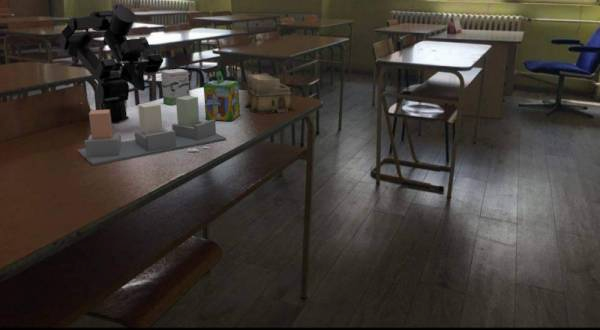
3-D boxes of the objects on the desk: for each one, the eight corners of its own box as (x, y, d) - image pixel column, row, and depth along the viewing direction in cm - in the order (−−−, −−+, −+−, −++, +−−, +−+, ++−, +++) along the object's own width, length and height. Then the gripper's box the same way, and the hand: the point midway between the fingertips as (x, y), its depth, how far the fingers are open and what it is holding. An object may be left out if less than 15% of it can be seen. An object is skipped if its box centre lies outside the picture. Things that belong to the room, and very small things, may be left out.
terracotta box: (95, 148, 129) (90, 110, 125) (114, 147, 130) (109, 109, 126) (94, 153, 125) (88, 114, 122) (113, 151, 126) (108, 113, 123)
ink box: (170, 105, 178) (167, 72, 174) (163, 103, 182) (160, 70, 178) (191, 102, 184) (188, 69, 180) (183, 100, 187) (181, 68, 183)
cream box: (141, 140, 135) (138, 104, 132) (157, 137, 138) (154, 102, 134) (147, 144, 132) (143, 107, 129) (163, 141, 135) (160, 105, 131)
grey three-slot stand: (76, 150, 130) (74, 133, 128) (202, 128, 150) (201, 113, 149) (93, 165, 119) (90, 147, 118) (226, 140, 140) (225, 124, 138)
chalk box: (232, 122, 158) (230, 75, 153) (204, 120, 160) (202, 73, 155) (241, 115, 167) (239, 70, 162) (215, 113, 169) (212, 69, 164)
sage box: (178, 132, 143) (175, 98, 139) (189, 129, 146) (187, 95, 143) (189, 135, 141) (186, 100, 137) (199, 131, 144) (197, 97, 141)
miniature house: (256, 115, 166) (255, 81, 162) (243, 106, 178) (242, 74, 174) (297, 112, 172) (297, 78, 168) (282, 103, 184) (282, 72, 180)
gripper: (95, 29, 133) (120, 76, 130) (157, 25, 146) (181, 68, 142) (86, 56, 141) (109, 101, 137) (145, 50, 154) (168, 91, 150)
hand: (143, 89), depth 142 cm, fingers closed
